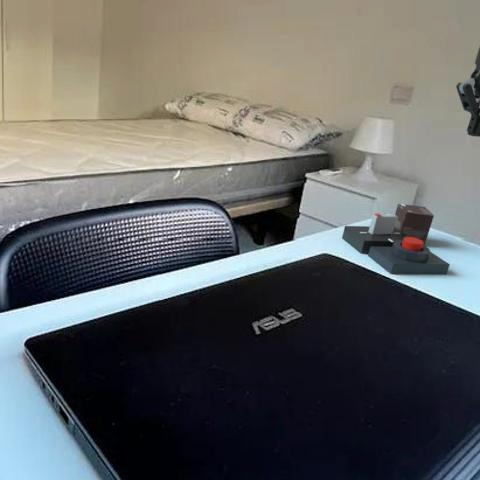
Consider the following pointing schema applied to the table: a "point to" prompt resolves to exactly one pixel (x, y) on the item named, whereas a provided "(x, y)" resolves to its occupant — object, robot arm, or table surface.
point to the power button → (412, 244)
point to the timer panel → (369, 238)
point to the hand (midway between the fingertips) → (474, 135)
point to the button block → (407, 260)
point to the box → (414, 221)
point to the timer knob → (382, 224)
